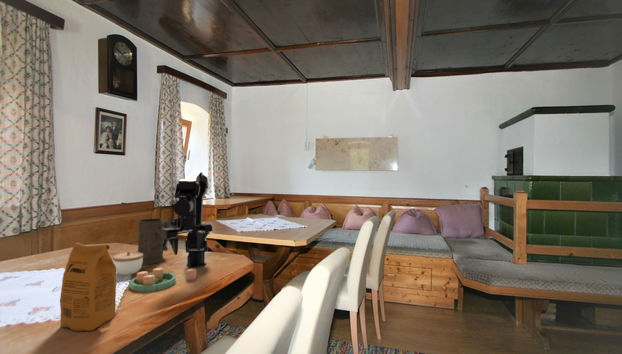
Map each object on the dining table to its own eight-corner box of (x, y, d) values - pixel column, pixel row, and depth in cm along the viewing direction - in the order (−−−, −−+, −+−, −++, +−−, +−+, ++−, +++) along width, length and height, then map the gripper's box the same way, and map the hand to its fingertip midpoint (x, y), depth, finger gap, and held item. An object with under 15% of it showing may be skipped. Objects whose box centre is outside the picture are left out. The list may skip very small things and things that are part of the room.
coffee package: (88, 312, 91) (88, 238, 91) (121, 317, 88) (122, 241, 88) (52, 328, 82) (52, 245, 81) (88, 335, 78) (88, 249, 78)
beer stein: (149, 265, 136) (152, 220, 138) (130, 263, 139) (133, 219, 141) (173, 259, 151) (176, 218, 152) (156, 257, 154) (158, 217, 155)
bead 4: (193, 278, 122) (193, 268, 121) (197, 280, 119) (198, 270, 119) (184, 280, 119) (184, 270, 119) (189, 282, 116) (189, 272, 116)
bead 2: (151, 285, 111) (152, 274, 111) (156, 287, 109) (156, 276, 109) (141, 287, 109) (141, 276, 109) (145, 290, 106) (145, 278, 106)
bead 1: (145, 281, 115) (145, 270, 115) (149, 283, 113) (149, 272, 113) (135, 283, 112) (135, 273, 112) (139, 286, 110) (139, 275, 110)
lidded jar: (129, 279, 119) (129, 255, 119) (106, 277, 121) (106, 253, 121) (149, 271, 130) (149, 248, 130) (127, 269, 132) (127, 247, 132)
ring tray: (164, 276, 123) (164, 269, 123) (183, 285, 114) (183, 278, 114) (123, 286, 112) (123, 279, 112) (140, 297, 102) (140, 289, 102)
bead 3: (155, 278, 118) (155, 268, 118) (164, 278, 119) (164, 267, 119) (151, 281, 115) (151, 270, 115) (161, 281, 115) (161, 270, 115)
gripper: (198, 208, 131) (198, 245, 131) (153, 212, 116) (153, 253, 116) (213, 210, 124) (213, 249, 124) (167, 215, 109) (167, 258, 109)
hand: (187, 252), depth 119 cm, fingers open, 9 cm apart
